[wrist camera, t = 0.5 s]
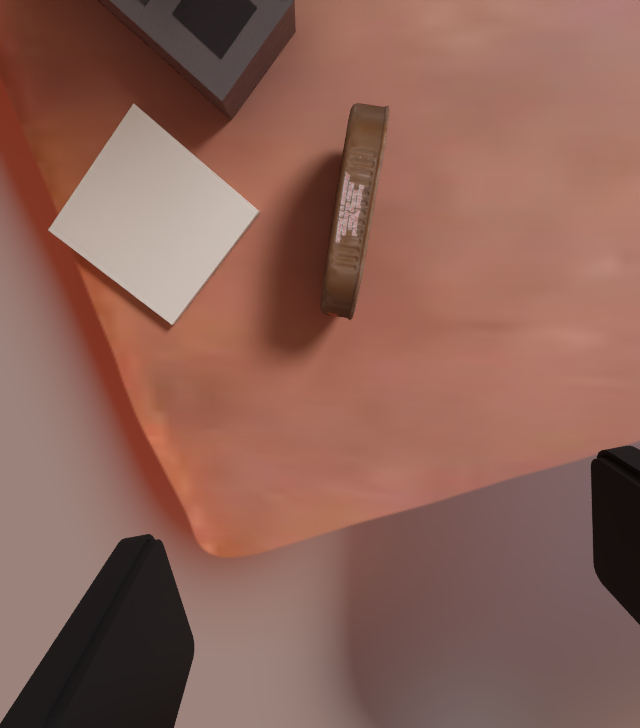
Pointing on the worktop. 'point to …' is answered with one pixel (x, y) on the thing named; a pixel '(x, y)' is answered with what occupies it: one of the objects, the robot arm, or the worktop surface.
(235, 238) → the pad
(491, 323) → the worktop surface
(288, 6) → the grey compartment holder
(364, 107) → the tin
